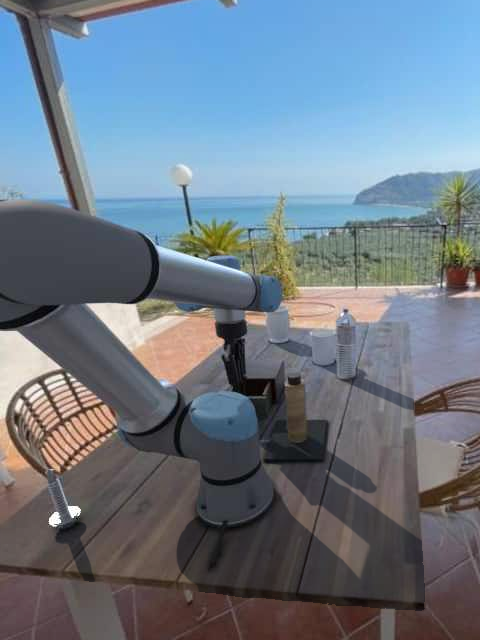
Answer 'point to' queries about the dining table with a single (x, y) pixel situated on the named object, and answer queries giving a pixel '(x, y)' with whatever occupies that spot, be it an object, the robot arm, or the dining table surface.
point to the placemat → (302, 451)
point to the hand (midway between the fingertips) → (241, 403)
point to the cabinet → (267, 373)
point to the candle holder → (323, 346)
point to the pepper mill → (296, 408)
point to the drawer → (259, 396)
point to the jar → (278, 324)
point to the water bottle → (346, 346)
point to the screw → (60, 504)
